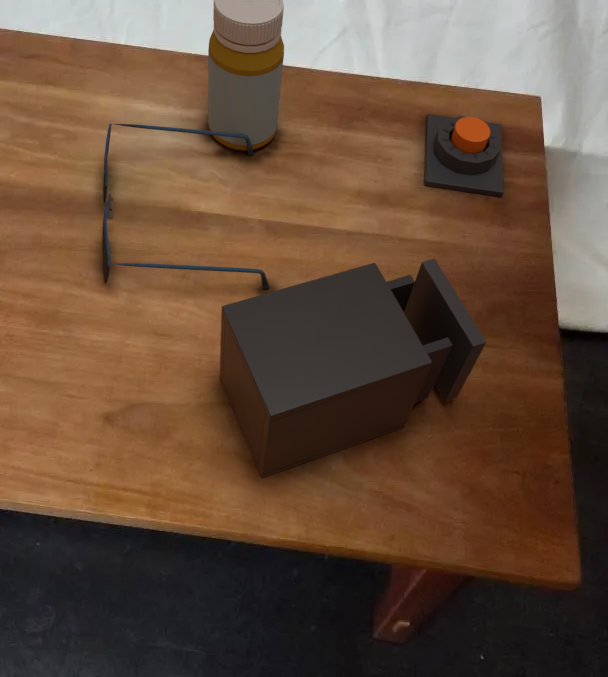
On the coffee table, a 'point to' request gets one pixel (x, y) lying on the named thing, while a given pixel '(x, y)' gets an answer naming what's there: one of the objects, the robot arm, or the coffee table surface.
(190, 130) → the sunglasses
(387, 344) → the dark grey drawer box
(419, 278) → the pulled-out drawer
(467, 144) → the button
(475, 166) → the block
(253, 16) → the bottle
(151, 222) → the coffee table surface
